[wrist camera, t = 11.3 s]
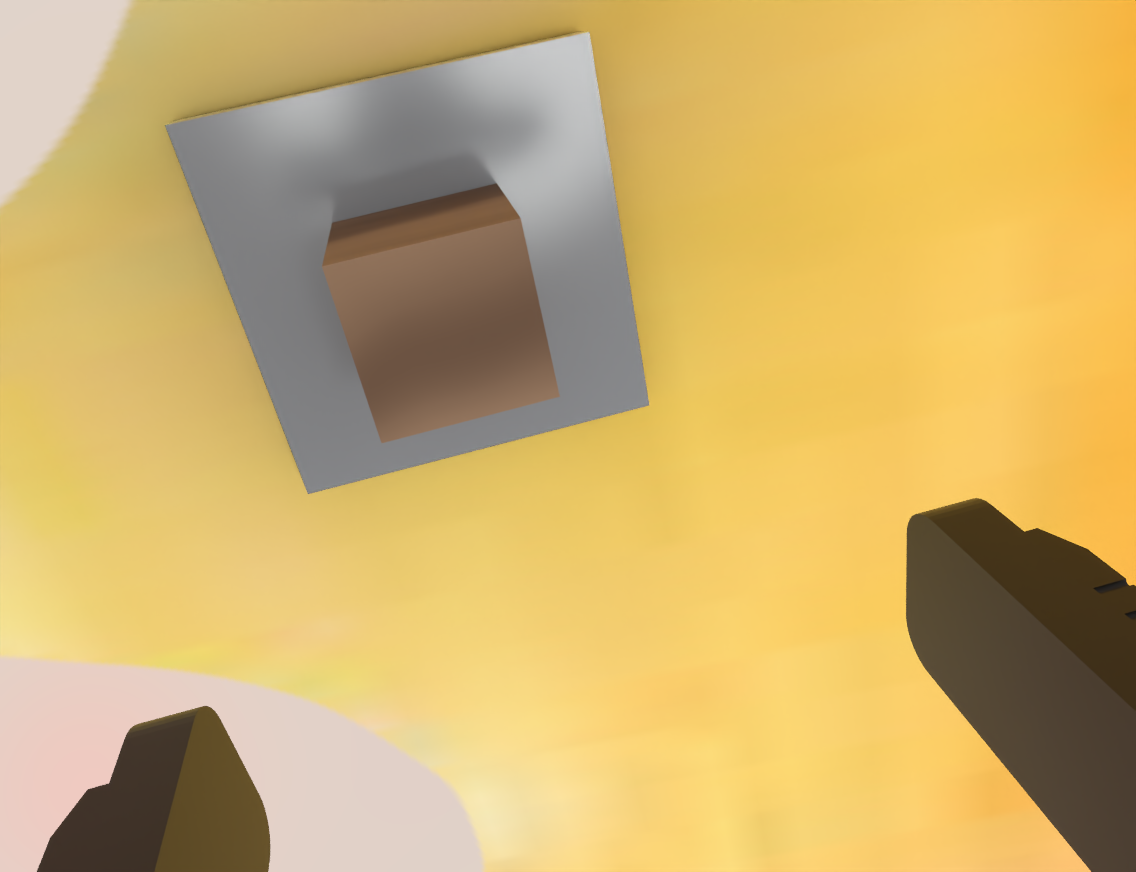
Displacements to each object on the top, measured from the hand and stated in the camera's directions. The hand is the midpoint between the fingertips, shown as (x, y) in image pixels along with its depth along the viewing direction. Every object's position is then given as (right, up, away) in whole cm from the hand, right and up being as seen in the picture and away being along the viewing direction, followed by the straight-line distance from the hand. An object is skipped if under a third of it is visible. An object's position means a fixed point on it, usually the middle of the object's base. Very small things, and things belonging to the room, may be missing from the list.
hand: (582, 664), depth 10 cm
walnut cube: (-4, +7, +17) cm, 19 cm away
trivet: (-4, +8, +18) cm, 20 cm away
